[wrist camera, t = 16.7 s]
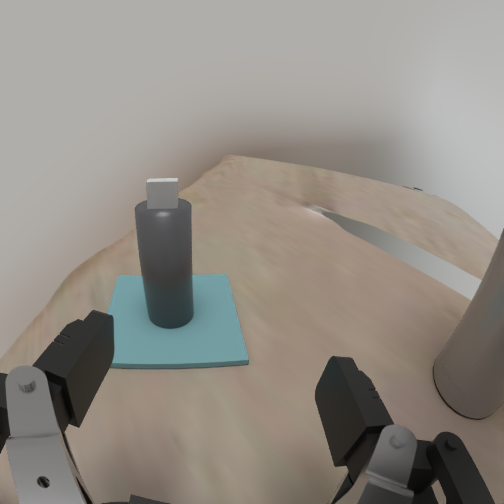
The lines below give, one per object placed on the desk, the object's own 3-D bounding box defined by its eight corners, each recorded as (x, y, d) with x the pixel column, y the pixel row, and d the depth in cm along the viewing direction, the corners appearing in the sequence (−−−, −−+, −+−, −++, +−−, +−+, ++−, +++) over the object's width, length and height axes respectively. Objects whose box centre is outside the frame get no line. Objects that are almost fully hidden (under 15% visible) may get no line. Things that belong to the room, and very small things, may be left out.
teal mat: (226, 278, 32) (227, 274, 32) (248, 364, 22) (248, 359, 21) (118, 280, 29) (118, 275, 29) (98, 366, 19) (96, 362, 19)
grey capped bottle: (193, 297, 27) (191, 172, 21) (194, 328, 24) (191, 188, 18) (150, 298, 26) (138, 173, 21) (146, 328, 23) (127, 189, 17)
